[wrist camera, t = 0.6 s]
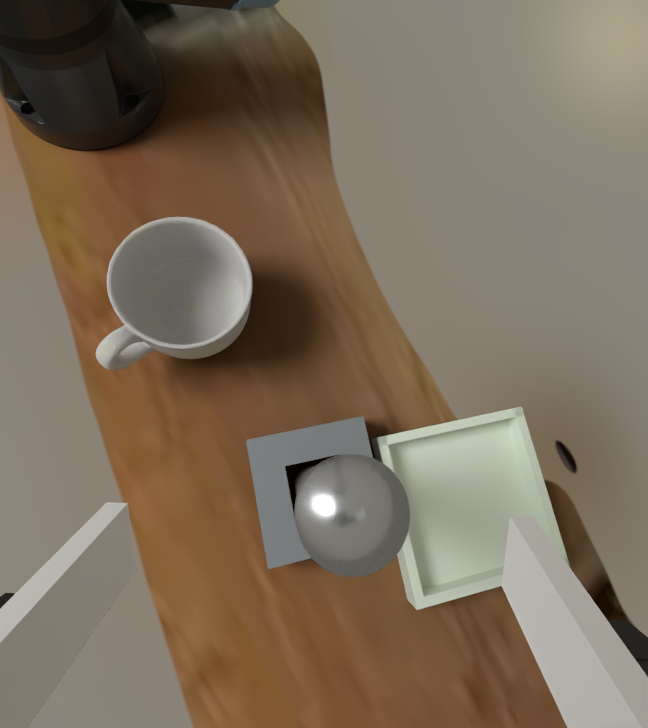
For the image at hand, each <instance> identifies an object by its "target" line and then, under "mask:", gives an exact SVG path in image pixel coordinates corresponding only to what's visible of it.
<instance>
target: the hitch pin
mask: <svg viewBox="0 0 648 728" xmlns="http://www.w3.org/2000/svg"><path fill="white" fill-rule="evenodd" d="M294 491H295V494H296V500H295V507H294V517H295V524H296V528H297V532H298V535H299V538H300V540H301V543H302V545H303V546H304V548H305V550H306V551H307V553H308V554H309V555H310V557H311V558H312V559H313V560H314V561H315V562H316V563H317V564H319V565H320V566H321V567H323V568H324V569H326V570H328V571H330V572H332V573H335V574H338V575H342V576H348V577H358V576H364V575H368V574H371V573H374V572H376V571H378V570H380V569H382V568H383V567H384V566H386V565H387V564H388V563H389V562H391V561H392V560H393V559H394V557H395V556H396V555H397V554H398V553H399V551H400V549H401V548H402V546H403V544H404V542H405V540H406V537H407V534H408V530H409V524H410V507H409V501H408V498H407V494H406V492H405V489H404V487H403V485H402V483H401V482H400V480H399V479H398V477H397V476H396V475H395V473H394V472H393V471H392V470H391V469H390V468H388V467H387V466H386V465H385V464H383V463H382V462H380V461H378V460H376V459H374V458H371V457H368V456H365V455H358V454H344V455H337V456H334V457H331V458H328V459H326V460H324V461H322V462H321V463H319V464H318V465H311V466H307V467H305V468H304V469H302V470H301V471H300V472H299V473H298V475H297V476H296V479H295V482H294Z"/></svg>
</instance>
